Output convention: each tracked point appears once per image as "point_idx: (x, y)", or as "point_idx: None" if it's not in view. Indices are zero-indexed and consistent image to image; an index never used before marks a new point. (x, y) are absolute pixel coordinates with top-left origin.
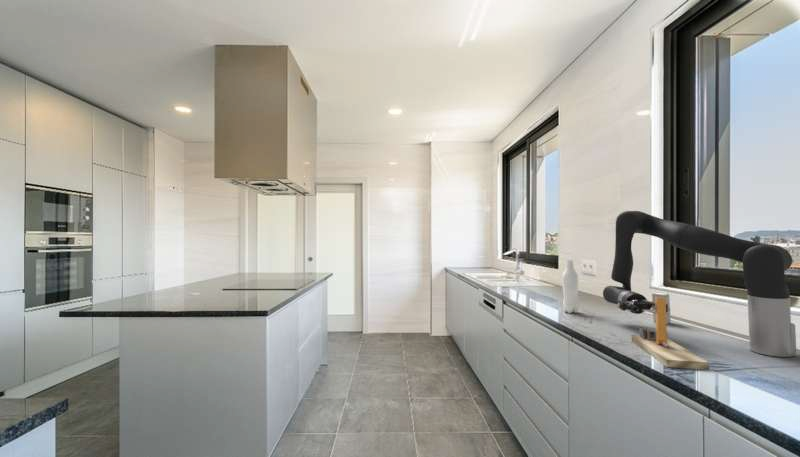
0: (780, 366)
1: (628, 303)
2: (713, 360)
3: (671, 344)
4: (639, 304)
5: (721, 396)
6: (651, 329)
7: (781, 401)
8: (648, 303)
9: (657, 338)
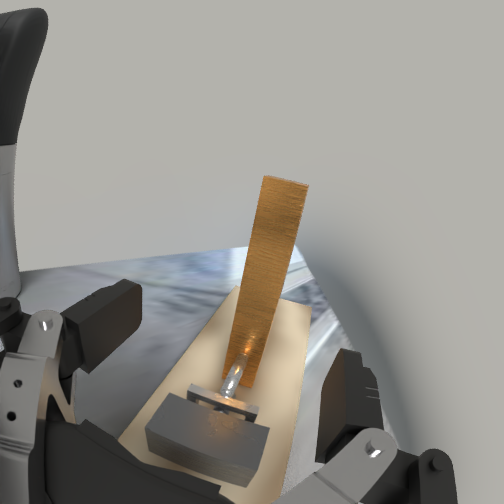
0: (84, 271)
1: (388, 460)
2: (163, 317)
3: (199, 372)
4: (200, 483)
5: (296, 266)
6: (210, 428)
7: (241, 251)
8: (56, 426)
9: (259, 365)
